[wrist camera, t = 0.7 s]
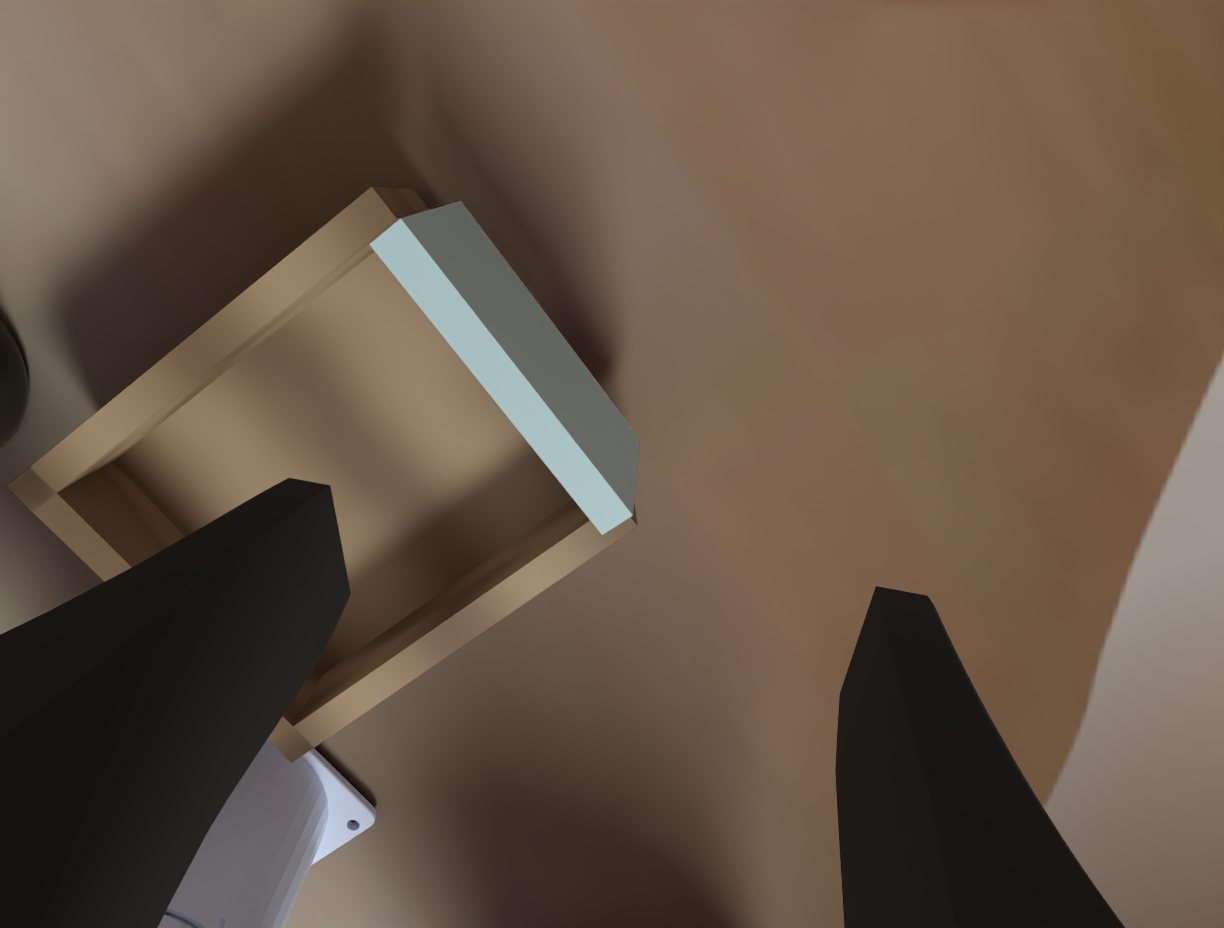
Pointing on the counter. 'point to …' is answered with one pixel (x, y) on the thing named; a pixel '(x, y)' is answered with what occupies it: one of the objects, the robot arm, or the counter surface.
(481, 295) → the panel
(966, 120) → the counter surface
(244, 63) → the counter surface
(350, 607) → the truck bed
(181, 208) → the counter surface
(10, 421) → the supplement bottle
